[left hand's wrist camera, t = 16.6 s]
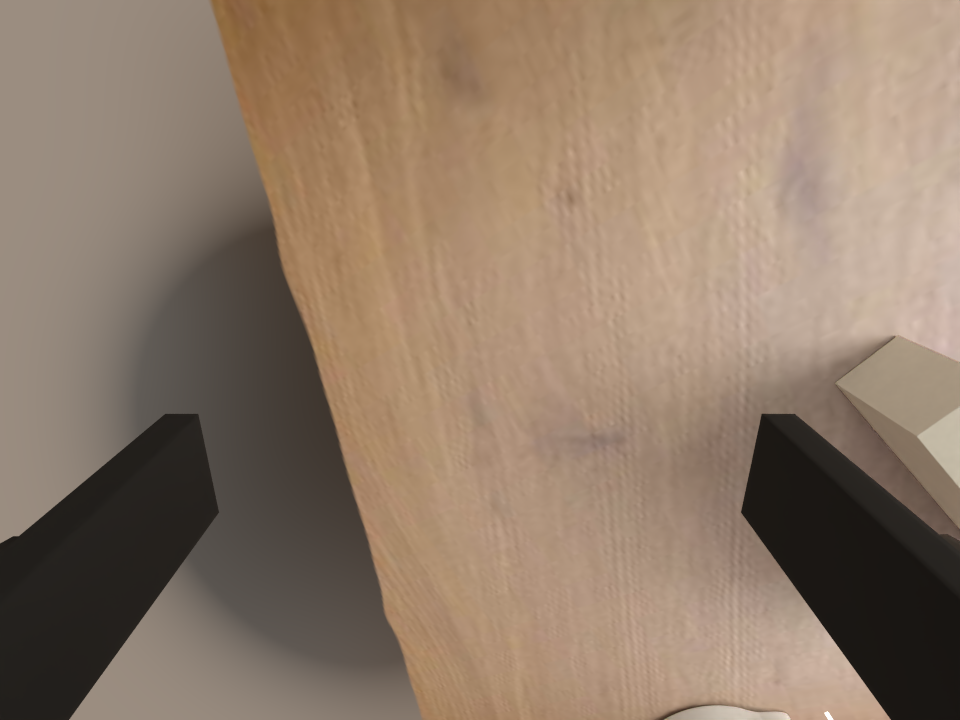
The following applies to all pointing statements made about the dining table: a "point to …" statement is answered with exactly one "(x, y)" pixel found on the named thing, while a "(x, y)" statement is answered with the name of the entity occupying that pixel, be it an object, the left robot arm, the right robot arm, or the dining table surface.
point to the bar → (914, 413)
